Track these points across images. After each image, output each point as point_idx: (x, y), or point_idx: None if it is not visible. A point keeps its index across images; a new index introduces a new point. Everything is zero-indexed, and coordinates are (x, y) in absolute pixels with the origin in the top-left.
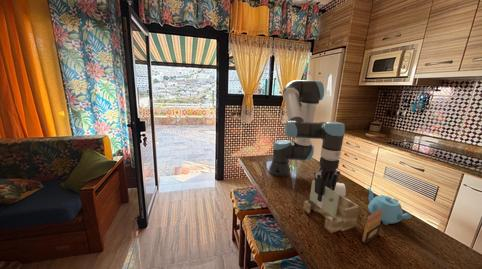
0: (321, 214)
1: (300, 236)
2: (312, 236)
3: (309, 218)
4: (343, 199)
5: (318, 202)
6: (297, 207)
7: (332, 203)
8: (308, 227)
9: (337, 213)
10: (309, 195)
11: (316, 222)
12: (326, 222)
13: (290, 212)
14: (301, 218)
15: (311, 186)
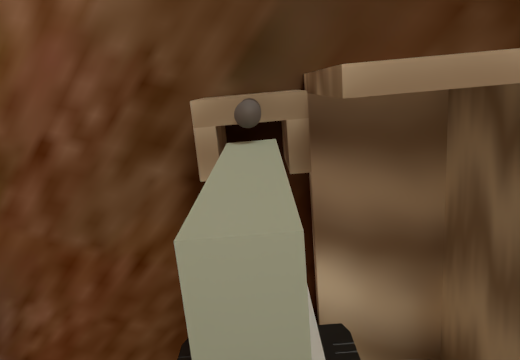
0: (311, 201)
1: (24, 340)
2: (100, 357)
3: (184, 216)
4: None
5: None
6: (166, 62)
7: None
8: (120, 290)
9: (434, 245)
10: (240, 116)
11: None
12: None
13: (67, 112)
14: (121, 201)
15: (203, 187)
